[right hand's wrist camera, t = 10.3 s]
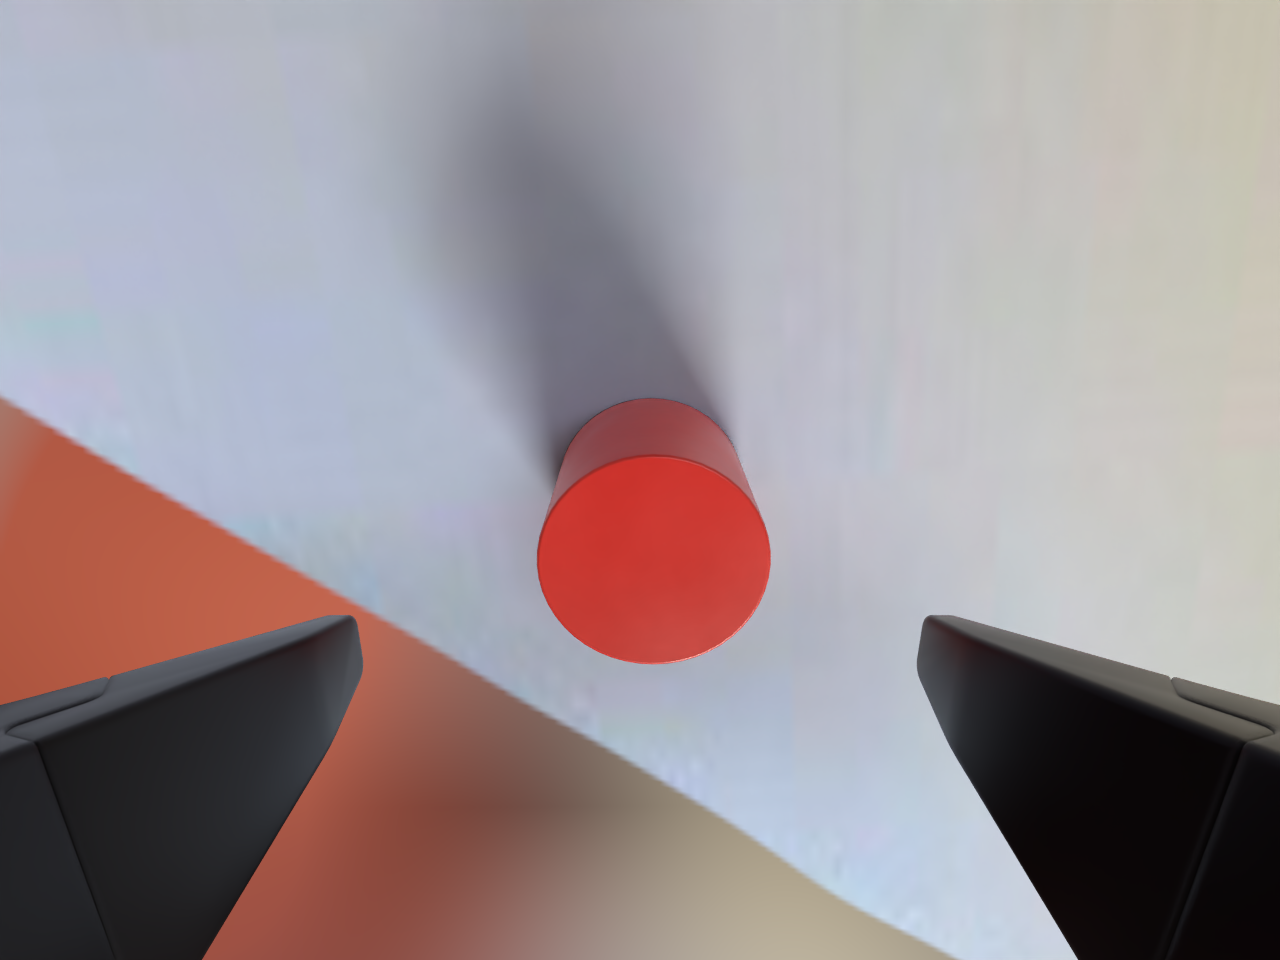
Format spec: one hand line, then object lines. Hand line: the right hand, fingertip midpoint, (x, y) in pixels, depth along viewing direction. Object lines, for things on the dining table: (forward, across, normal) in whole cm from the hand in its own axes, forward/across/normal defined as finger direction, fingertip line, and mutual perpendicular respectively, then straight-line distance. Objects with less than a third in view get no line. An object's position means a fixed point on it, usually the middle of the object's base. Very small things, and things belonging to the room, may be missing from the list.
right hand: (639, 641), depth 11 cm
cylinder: (+8, 0, 0) cm, 8 cm away
